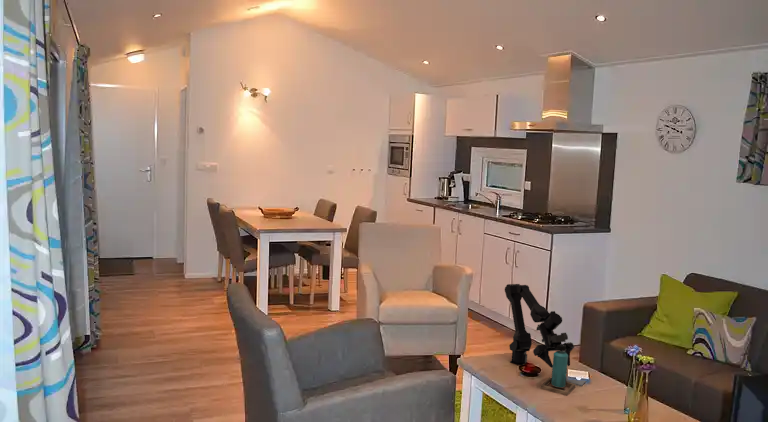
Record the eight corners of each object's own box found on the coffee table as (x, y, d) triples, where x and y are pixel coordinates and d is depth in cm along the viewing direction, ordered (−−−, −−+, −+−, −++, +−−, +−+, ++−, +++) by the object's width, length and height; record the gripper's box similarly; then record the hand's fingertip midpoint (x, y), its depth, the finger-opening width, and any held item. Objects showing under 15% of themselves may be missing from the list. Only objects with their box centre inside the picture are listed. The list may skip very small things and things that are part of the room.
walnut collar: (540, 388, 289) (540, 385, 289) (549, 380, 299) (549, 377, 299) (566, 395, 283) (567, 392, 283) (575, 387, 293) (575, 384, 293)
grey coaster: (559, 380, 300) (559, 379, 300) (566, 374, 308) (566, 373, 308) (581, 386, 294) (581, 385, 294) (587, 380, 303) (588, 378, 303)
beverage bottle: (567, 391, 288) (571, 347, 285) (552, 390, 288) (556, 346, 285) (563, 385, 294) (567, 342, 292) (548, 384, 294) (552, 341, 292)
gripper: (539, 327, 289) (551, 360, 280) (573, 325, 296) (587, 356, 287) (527, 339, 297) (539, 371, 288) (561, 336, 304) (574, 367, 295)
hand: (560, 366), depth 289 cm, fingers open, 9 cm apart
